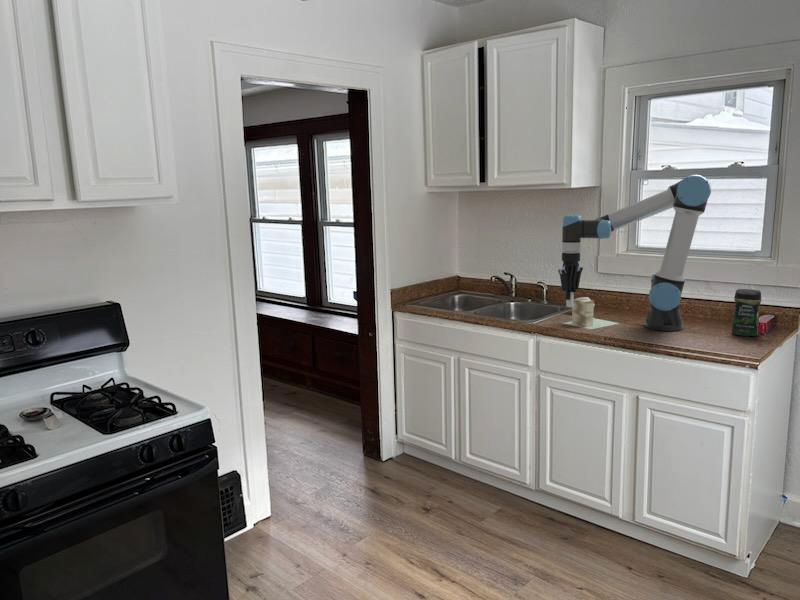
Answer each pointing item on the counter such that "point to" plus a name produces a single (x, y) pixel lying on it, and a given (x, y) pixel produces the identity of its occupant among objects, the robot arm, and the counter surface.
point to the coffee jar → (746, 312)
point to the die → (585, 298)
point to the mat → (595, 324)
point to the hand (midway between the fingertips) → (569, 306)
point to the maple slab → (583, 312)
